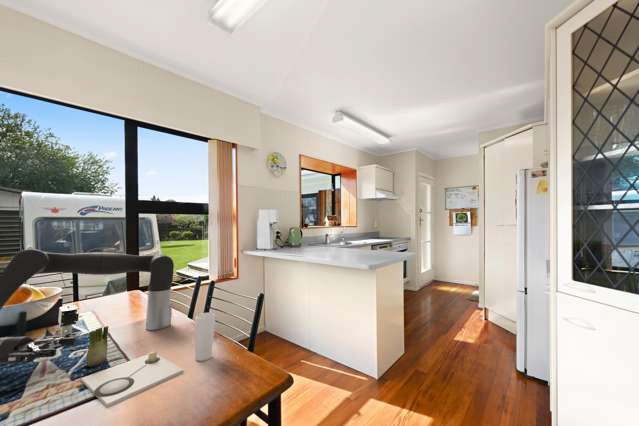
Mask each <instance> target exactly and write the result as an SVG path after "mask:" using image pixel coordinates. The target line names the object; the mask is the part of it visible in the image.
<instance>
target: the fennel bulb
mask: <svg viewBox="0 0 639 426" xmlns="http://www.w3.org/2000/svg"><path fill="white" fill-rule="evenodd" d="M108 331H109V326H108V325H106V326H103V327H98V328H96V329H94V330H91V331H89V344H88V345H89V346H88V348H87V352H86V358H85V359H86V360H85V364H86V366H87V367H89V368H93V367H96V366H99V365H102V364H103V363H105V361H106V359H107V357H108V348H109V347H108V346H109V345H108V333H109V332H108Z"/></svg>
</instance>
